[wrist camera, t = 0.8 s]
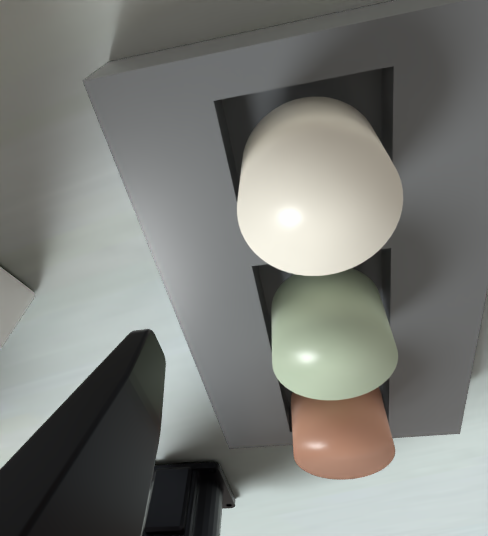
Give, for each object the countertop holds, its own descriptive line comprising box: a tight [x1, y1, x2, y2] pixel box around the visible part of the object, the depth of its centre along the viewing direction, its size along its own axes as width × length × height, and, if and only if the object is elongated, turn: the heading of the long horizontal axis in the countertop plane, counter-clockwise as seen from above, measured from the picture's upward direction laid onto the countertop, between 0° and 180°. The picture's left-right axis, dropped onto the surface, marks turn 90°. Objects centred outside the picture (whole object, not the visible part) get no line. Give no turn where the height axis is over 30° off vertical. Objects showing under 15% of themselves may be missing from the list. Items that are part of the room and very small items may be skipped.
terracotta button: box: [291, 387, 395, 479], centre depth 21 cm, size 5×5×3 cm
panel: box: [83, 0, 488, 449], centre depth 19 cm, size 21×13×3 cm, turn 11°
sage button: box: [271, 268, 398, 400], centre depth 17 cm, size 5×5×3 cm
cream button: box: [237, 97, 403, 276], centre depth 13 cm, size 5×5×3 cm
